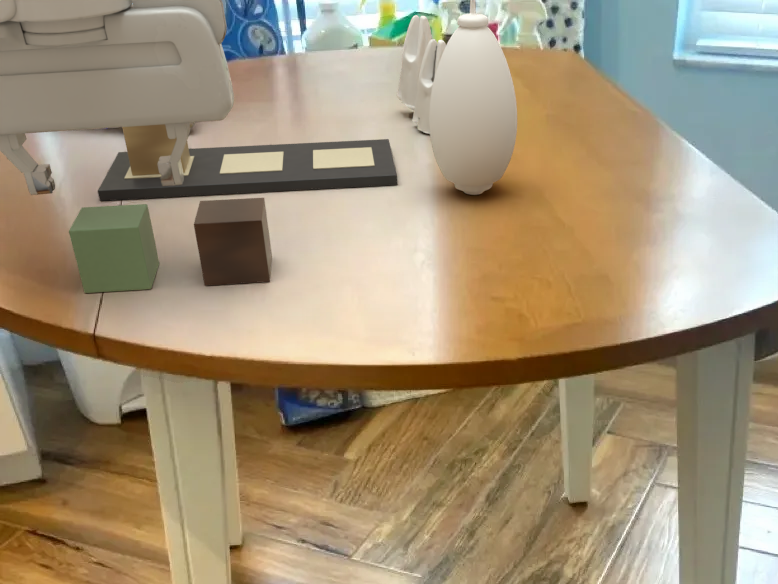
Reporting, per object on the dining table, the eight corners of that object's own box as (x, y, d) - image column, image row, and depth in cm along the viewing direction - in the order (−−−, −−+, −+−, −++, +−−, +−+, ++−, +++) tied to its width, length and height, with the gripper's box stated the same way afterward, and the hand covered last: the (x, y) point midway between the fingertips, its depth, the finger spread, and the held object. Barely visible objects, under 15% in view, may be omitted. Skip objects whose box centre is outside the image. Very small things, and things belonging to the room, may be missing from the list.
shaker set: (396, 111, 114) (391, 10, 108) (430, 108, 116) (427, 7, 109) (424, 139, 105) (420, 30, 99) (460, 135, 106) (459, 27, 100)
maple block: (132, 175, 92) (121, 122, 90) (139, 159, 97) (129, 108, 94) (185, 172, 93) (175, 120, 90) (190, 157, 97) (181, 106, 94)
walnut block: (204, 286, 74) (193, 223, 71) (210, 260, 78) (199, 200, 75) (270, 282, 74) (261, 219, 72) (272, 256, 78) (264, 197, 76)
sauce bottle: (530, 187, 92) (536, -22, 82) (485, 211, 86) (486, -8, 76) (462, 173, 95) (460, -28, 85) (416, 195, 90) (407, -16, 80)
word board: (99, 201, 90) (97, 189, 89) (120, 161, 100) (118, 151, 99) (397, 185, 93) (397, 173, 92) (389, 148, 102) (388, 137, 102)
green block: (84, 293, 73) (68, 230, 70) (96, 267, 77) (81, 207, 74) (151, 289, 74) (138, 226, 71) (159, 263, 78) (147, 203, 75)
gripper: (221, -33, 67) (252, 164, 75) (-85, -18, 65) (-20, 183, 73) (214, -19, 62) (248, 191, 70) (-118, -2, 60) (-45, 212, 68)
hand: (108, 187), depth 71 cm, fingers open, 8 cm apart
